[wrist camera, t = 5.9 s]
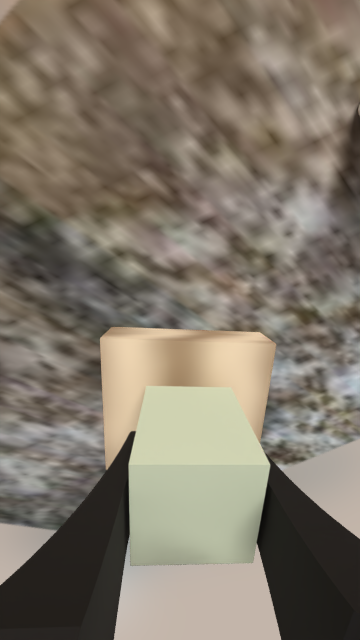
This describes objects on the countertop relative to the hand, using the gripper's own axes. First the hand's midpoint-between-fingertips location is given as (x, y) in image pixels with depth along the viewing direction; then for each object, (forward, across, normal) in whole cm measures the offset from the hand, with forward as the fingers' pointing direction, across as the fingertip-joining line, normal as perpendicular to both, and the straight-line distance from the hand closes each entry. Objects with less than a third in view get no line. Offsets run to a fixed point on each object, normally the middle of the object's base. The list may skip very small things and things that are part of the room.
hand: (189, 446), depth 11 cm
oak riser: (+6, 0, 0) cm, 6 cm away
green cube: (+2, 0, 0) cm, 2 cm away
